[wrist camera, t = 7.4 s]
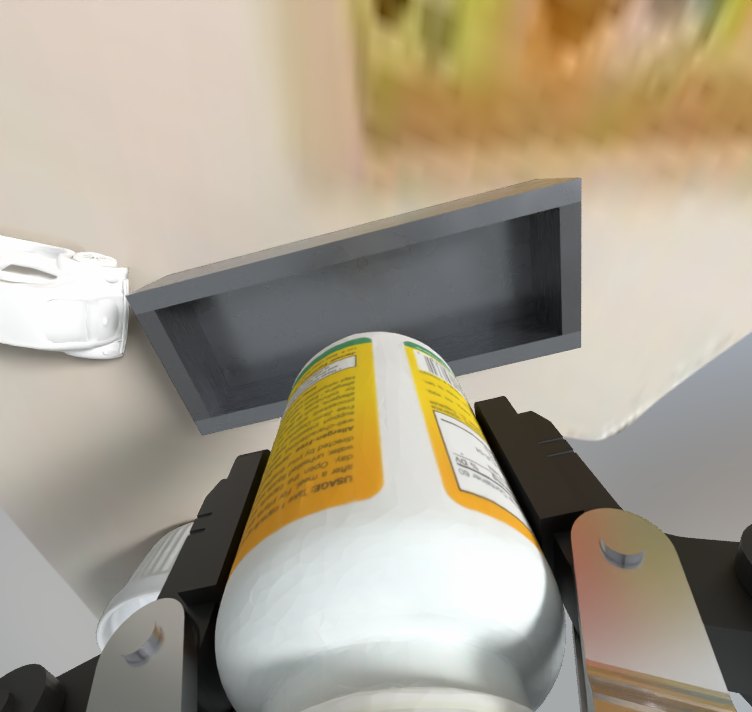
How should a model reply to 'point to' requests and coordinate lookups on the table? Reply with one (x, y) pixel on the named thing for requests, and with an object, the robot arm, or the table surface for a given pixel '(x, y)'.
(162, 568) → the ramekin
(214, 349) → the open rectangular box
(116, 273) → the car
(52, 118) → the table surface
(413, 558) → the supplement bottle
